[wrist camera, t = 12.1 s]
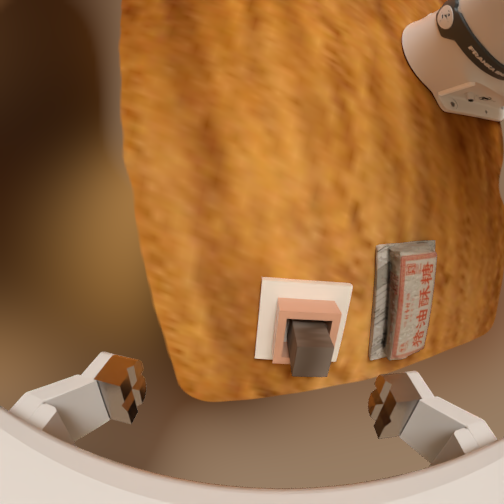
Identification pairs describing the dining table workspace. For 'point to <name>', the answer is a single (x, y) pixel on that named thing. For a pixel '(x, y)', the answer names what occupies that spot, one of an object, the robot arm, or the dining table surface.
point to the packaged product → (402, 298)
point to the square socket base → (298, 313)
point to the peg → (309, 348)
